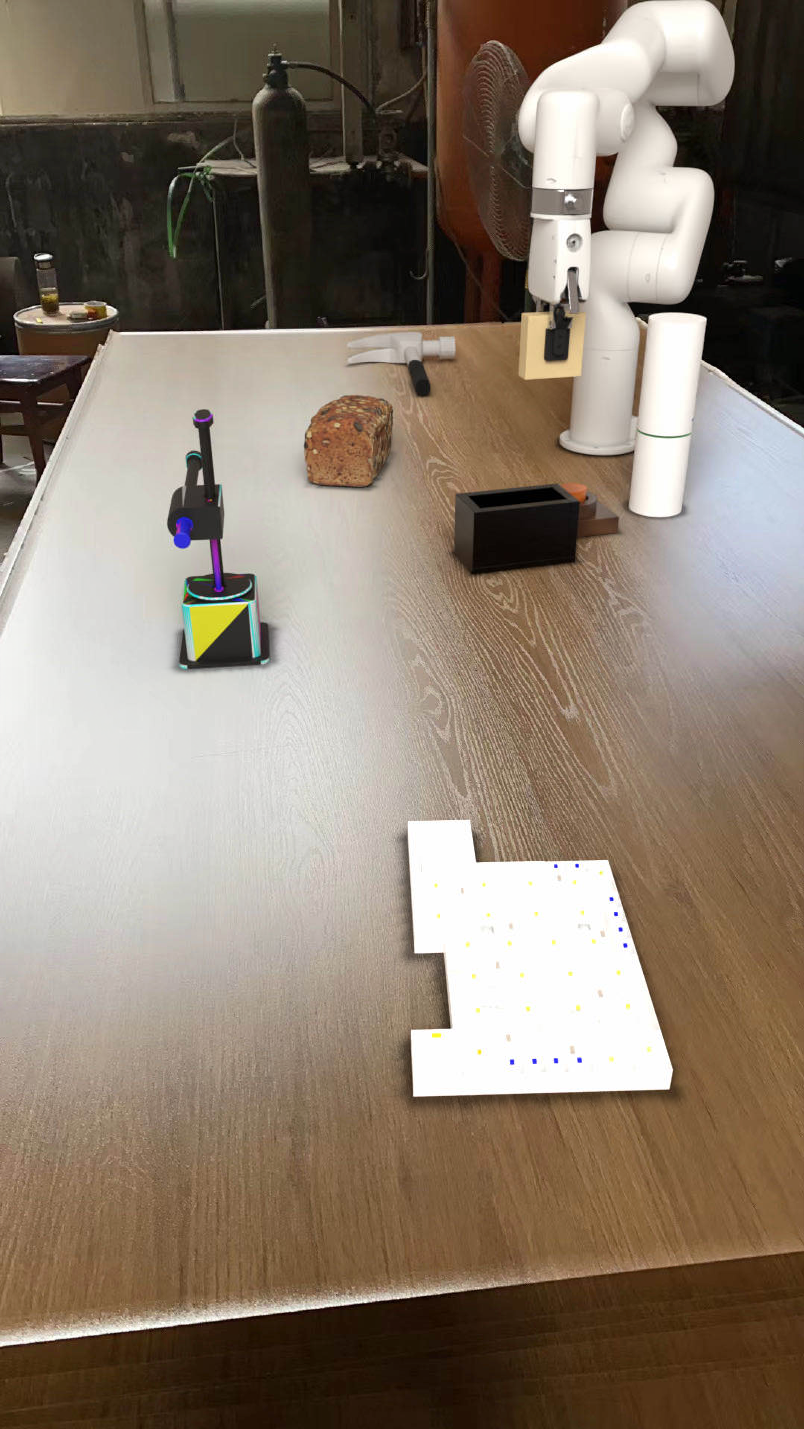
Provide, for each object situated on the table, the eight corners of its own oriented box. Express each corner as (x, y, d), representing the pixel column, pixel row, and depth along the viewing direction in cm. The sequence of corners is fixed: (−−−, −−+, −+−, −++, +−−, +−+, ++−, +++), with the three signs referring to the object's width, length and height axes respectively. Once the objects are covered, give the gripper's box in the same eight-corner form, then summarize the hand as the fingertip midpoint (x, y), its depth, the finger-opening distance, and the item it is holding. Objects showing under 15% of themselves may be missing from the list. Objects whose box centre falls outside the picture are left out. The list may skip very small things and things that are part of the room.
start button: (578, 494, 144) (580, 481, 143) (590, 503, 141) (591, 490, 140) (553, 497, 143) (554, 484, 142) (564, 506, 140) (565, 493, 139)
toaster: (553, 542, 139) (557, 483, 135) (575, 562, 134) (580, 501, 130) (453, 553, 136) (455, 493, 132) (472, 574, 130) (474, 512, 126)
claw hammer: (473, 371, 200) (452, 330, 225) (353, 374, 198) (346, 333, 223) (473, 400, 203) (452, 357, 228) (354, 404, 201) (346, 360, 226)
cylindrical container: (684, 502, 152) (709, 314, 139) (678, 519, 146) (703, 325, 133) (632, 496, 154) (652, 311, 141) (624, 513, 148) (644, 321, 135)
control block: (591, 512, 149) (594, 483, 146) (617, 532, 142) (620, 503, 140) (523, 519, 146) (525, 491, 144) (546, 541, 140) (548, 511, 138)
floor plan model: (413, 1096, 64) (413, 1074, 63) (400, 838, 86) (400, 819, 85) (669, 1089, 65) (673, 1067, 64) (592, 834, 86) (594, 815, 85)
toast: (573, 372, 147) (578, 310, 143) (581, 376, 145) (586, 313, 141) (518, 375, 145) (521, 312, 141) (525, 380, 143) (528, 316, 139)
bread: (373, 490, 157) (372, 421, 152) (301, 486, 158) (298, 417, 153) (396, 451, 172) (395, 387, 167) (330, 448, 174) (328, 385, 169)
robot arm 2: (269, 678, 108) (251, 435, 96) (177, 683, 108) (146, 439, 95) (267, 578, 130) (251, 369, 117) (190, 582, 129) (166, 372, 116)
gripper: (617, 209, 129) (603, 369, 138) (563, 198, 142) (553, 344, 151) (559, 211, 127) (548, 372, 136) (509, 199, 140) (502, 347, 150)
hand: (551, 356), depth 144 cm, fingers closed on toast, 2 cm apart
